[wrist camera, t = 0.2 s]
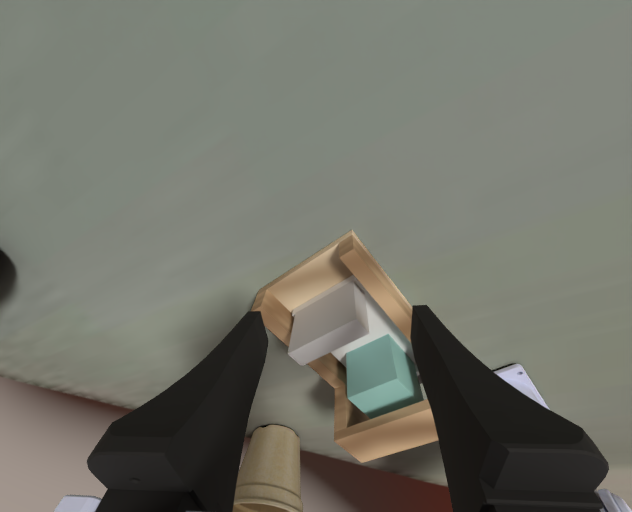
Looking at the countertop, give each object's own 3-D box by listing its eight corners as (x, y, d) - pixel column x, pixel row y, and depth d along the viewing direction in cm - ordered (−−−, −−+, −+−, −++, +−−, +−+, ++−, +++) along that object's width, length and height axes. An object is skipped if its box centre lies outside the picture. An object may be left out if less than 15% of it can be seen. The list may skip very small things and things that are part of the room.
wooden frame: (455, 362, 29) (489, 444, 22) (369, 395, 32) (377, 475, 26) (351, 229, 22) (357, 290, 16) (259, 289, 26) (231, 360, 19)
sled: (427, 356, 28) (444, 408, 23) (366, 381, 30) (371, 432, 26) (357, 272, 23) (361, 316, 19) (292, 309, 26) (283, 355, 21)
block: (413, 362, 27) (426, 408, 23) (372, 379, 29) (377, 425, 25) (388, 333, 25) (397, 378, 22) (346, 353, 27) (347, 398, 23)
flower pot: (315, 456, 40) (309, 540, 33) (249, 454, 41) (229, 535, 34) (308, 416, 35) (300, 504, 28) (234, 415, 36) (207, 500, 29)
